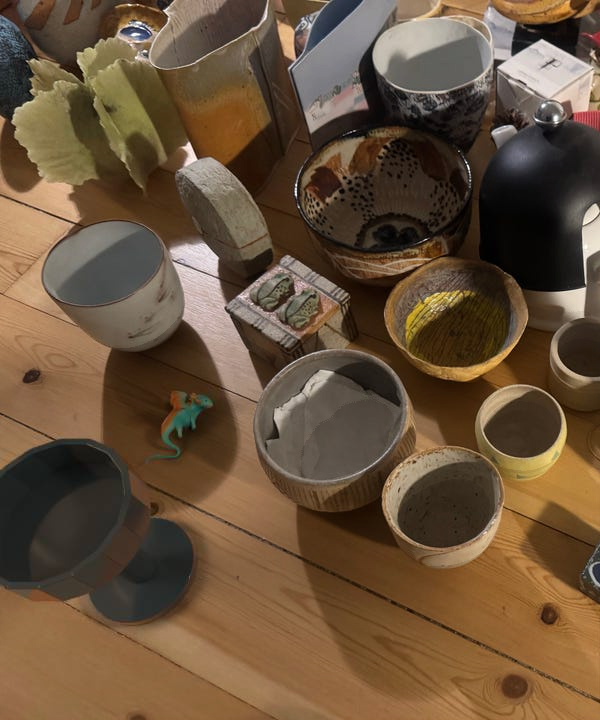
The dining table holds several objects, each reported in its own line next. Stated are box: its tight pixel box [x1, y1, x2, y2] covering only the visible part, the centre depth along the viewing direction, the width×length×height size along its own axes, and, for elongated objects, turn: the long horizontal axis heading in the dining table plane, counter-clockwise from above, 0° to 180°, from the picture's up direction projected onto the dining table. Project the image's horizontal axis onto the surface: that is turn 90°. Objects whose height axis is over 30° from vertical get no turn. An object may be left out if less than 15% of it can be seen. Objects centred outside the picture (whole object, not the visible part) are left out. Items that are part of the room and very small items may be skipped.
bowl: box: [0, 437, 199, 626], centre depth 67 cm, size 13×13×19 cm
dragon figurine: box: [145, 390, 214, 465], centre depth 83 cm, size 6×7×8 cm
